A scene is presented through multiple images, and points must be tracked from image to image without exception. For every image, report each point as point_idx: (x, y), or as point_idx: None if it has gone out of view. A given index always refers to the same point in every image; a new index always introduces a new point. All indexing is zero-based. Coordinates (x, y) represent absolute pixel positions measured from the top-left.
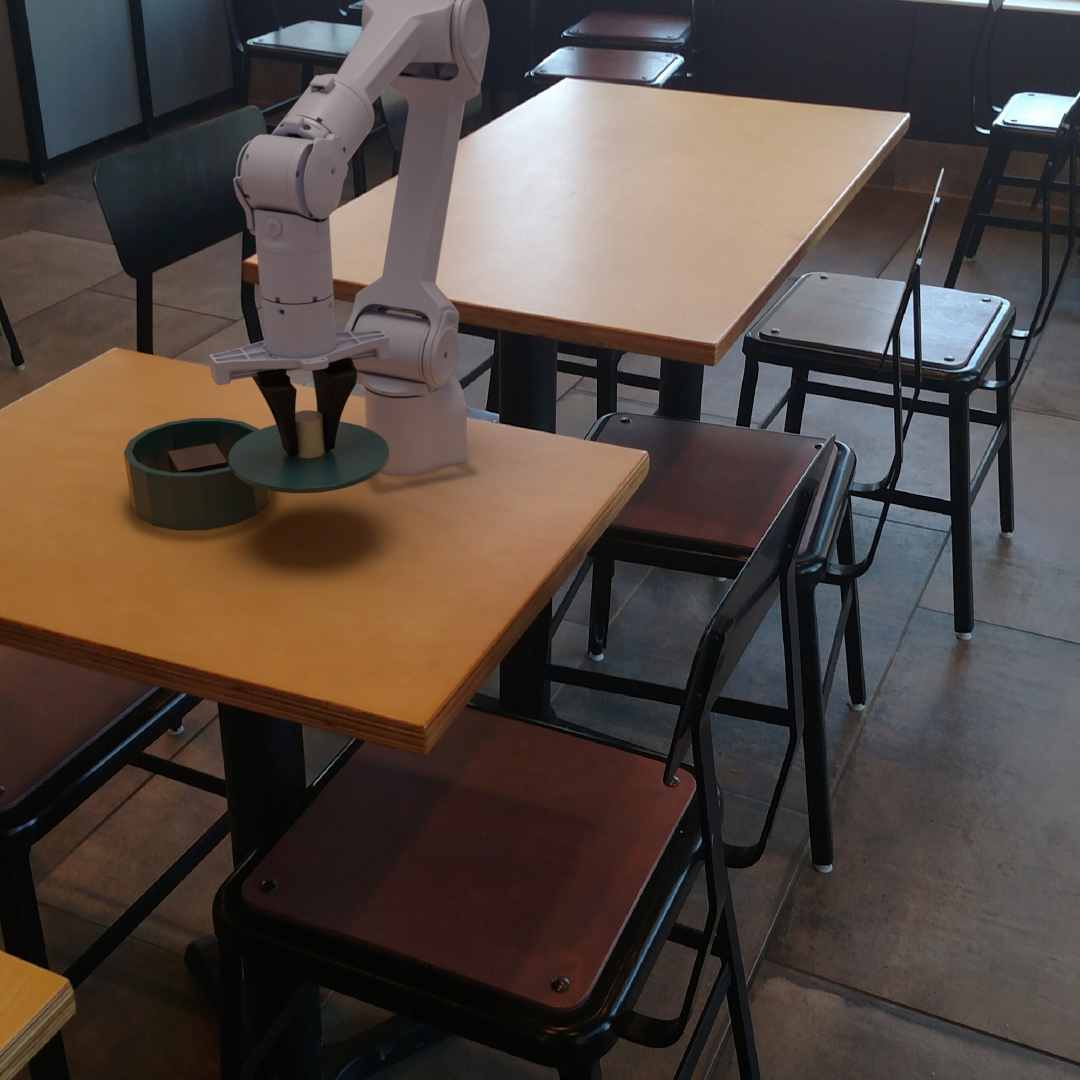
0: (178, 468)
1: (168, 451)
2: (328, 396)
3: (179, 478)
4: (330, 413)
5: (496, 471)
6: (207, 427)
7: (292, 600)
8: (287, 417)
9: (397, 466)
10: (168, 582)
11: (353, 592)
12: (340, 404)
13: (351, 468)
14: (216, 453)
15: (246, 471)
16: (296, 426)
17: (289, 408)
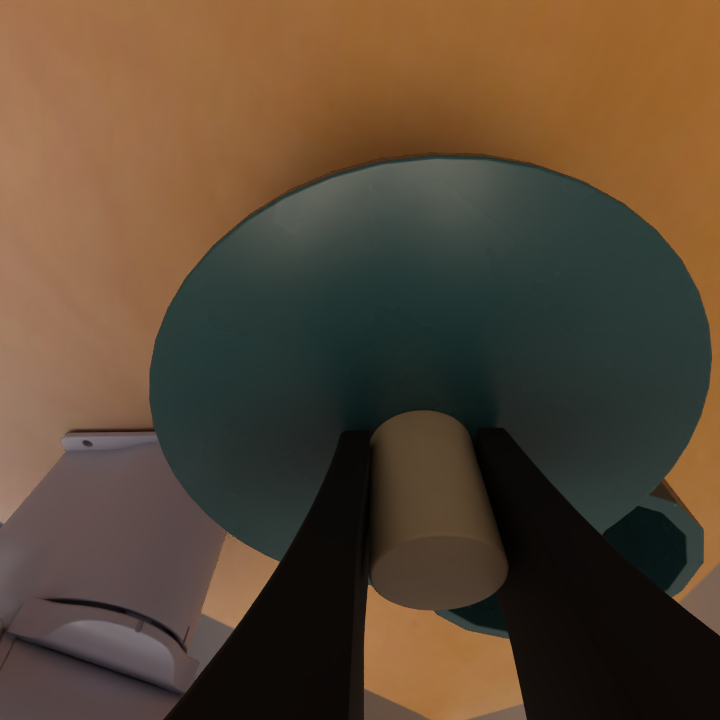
0: (603, 532)
1: None
2: (353, 682)
3: (660, 493)
4: (350, 560)
5: (16, 420)
6: (488, 614)
7: (542, 73)
8: (607, 578)
9: None
10: (712, 269)
11: (393, 45)
12: (285, 604)
13: (319, 289)
14: None
15: (674, 400)
16: (498, 533)
17: (632, 638)
